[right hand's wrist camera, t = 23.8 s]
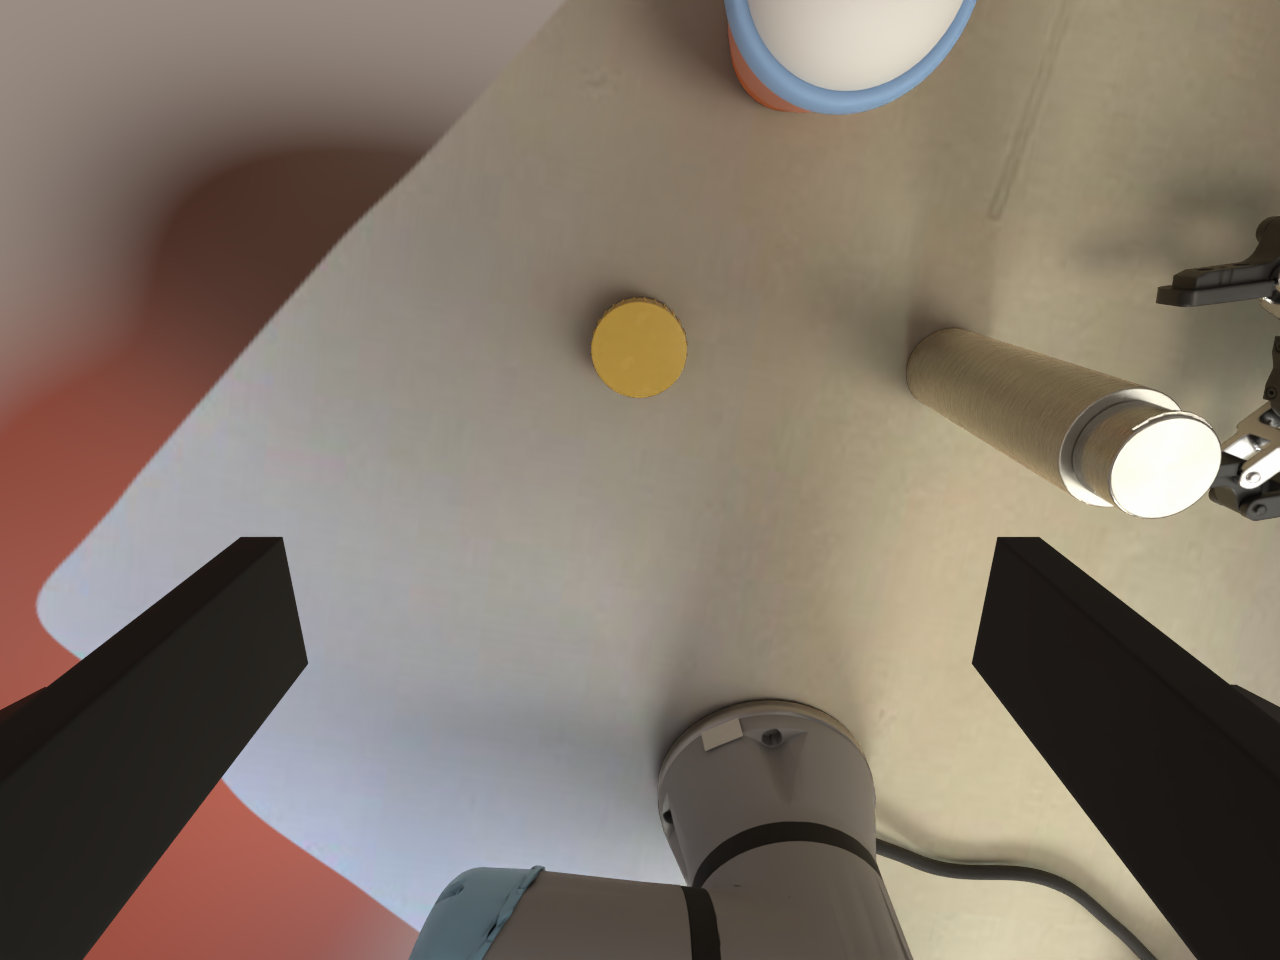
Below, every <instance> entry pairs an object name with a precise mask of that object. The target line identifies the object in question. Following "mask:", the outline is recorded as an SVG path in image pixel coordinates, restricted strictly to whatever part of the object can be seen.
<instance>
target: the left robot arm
mask: <svg viewBox="0 0 1280 960" xmlns="http://www.w3.org/2000/svg"><path fill="white" fill-rule="evenodd" d="M1256 238H1257V240H1258V242H1259V244H1258V246H1257V248H1256V250H1255V252H1254V253H1253V254H1252V255H1251V256H1250V257H1249V258H1248V259H1246V260H1244V261H1242V262H1239V263H1232V264H1225V265H1217V266H1209V267H1202V268H1194V269H1186V270H1184V271H1182V272H1180V273H1178V274H1176V275H1174V277H1173V284H1172V285H1169V286H1162V287H1158V292H1157V300H1156V303H1159V304H1165V305H1172V306H1179V307H1194V306H1202V305H1210V304H1218V303H1225V302H1233V301H1241V300H1249V299H1257V298H1258V299H1259V300H1260V301H1262V302H1261V303H1260V305H1261V306H1262V307H1263V308H1264V309H1266V310H1267V311H1268V312H1270V313H1271V314H1273V315H1274V316H1275V317H1277V318H1278V319H1280V216H1274V217H1269V218H1267V219H1265V220H1264V221H1262V222H1261V224H1260V225H1259V226H1258V228H1257V231H1256ZM1272 355H1273V370H1272V372H1271V374H1270V376H1269V378H1268V380H1267V383H1266V386H1265V391H1264V396H1263V399H1266V400H1269V401H1268V402H1267V403H1265V404H1264V405H1263V406H1261V407H1260V408H1259V409H1257V410H1256V411H1254V412H1253V413H1252V414H1250V415H1249V416H1248V417H1246V418H1245V419H1244V420H1242V421H1241V422H1240V423H1239V424H1238V425H1237V430H1238V431H1237V433H1236V434H1235V435H1233V436H1232V437H1231V438H1229V439H1228V440H1226V441H1225V442H1224V443H1222V444H1221V449H1222V459H1221V465H1220V469H1219V472H1218V474H1217V477H1216V479H1215V480H1214V482H1213V484H1212V485H1211V487H1210V488H1211V489H1210V491H1209V498H1210V500H1212V501H1213V502H1215V503H1217V504H1220V505H1223V506H1225V507H1228V508H1230V509H1232V510H1234V511H1236V512H1238V513H1240V514H1241V515H1242V516H1244V517H1246V518H1248V519H1250V520H1253V521H1258V520H1264V519H1270V518H1276V517H1280V429H1279V428H1278V427H1279V426H1280V336H1275V341H1274V346H1273V351H1272ZM1259 450H1262V451H1260V452H1259V453H1257V454H1256V455H1255V456H1253V457H1252V458H1250V459H1249V460H1248V461H1247V460H1245V459H1246V458H1247V457H1249V456H1250V455H1251V454H1253V453H1254V452H1256V451H1259Z"/></svg>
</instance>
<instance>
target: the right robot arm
mask: <svg viewBox="0 0 1280 960" xmlns="http://www.w3.org/2000/svg"><path fill="white" fill-rule="evenodd" d="M307 664H308V660H307V656H306V651H305V646H304V641H303V636H302V631H301V626H300V621H299V616H298V611H297V606H296V601H295V596H294V591H293V586H292V581H291V577H290V572H289V567H288V562H287V557H286V552H285V547H284V542H283V537H240V538H239V539H238V540H236V541H235V542H234V543H232V544H231V545H230V546H229V547H227V548H226V549H225V550H223V551H222V552H221V553H220V554H218V555H217V556H216V557H214V558H213V559H212V560H211V561H209V562H208V563H207V564H205V565H204V566H203V567H202V568H200V569H199V570H198V571H196V572H195V573H194V574H192V575H191V576H190V577H189V578H187V579H186V580H185V581H183V582H182V583H181V584H180V585H178V586H177V587H176V588H174V589H173V590H172V591H171V592H169V593H168V594H167V595H165V596H164V597H163V598H161V599H160V600H159V601H158V602H156V603H155V604H154V605H152V606H151V607H150V608H149V609H147V610H146V611H145V612H143V613H142V614H141V615H140V616H138V617H137V618H136V619H134V620H133V621H132V622H131V623H129V624H128V625H127V626H125V627H124V628H123V629H121V630H120V631H119V632H118V633H116V634H115V635H114V636H112V637H111V638H110V639H109V640H107V641H106V642H105V643H103V644H102V645H101V646H100V647H98V648H97V649H96V650H94V651H93V652H92V653H90V654H89V655H88V656H87V657H85V658H84V659H83V660H81V661H80V662H79V663H78V664H76V665H75V666H74V667H72V668H71V669H70V670H69V671H67V672H66V673H65V674H63V675H62V676H61V677H60V678H58V679H57V680H56V681H54V682H53V683H52V684H50V685H49V686H48V687H44V688H42V689H40V690H38V691H36V692H34V693H32V694H31V695H29V696H27V697H25V698H23V699H21V700H19V701H17V702H15V703H13V704H11V705H9V706H7V707H5V708H4V709H2V710H0V960H83V959H84V957H85V956H86V955H87V953H88V952H89V951H90V949H91V948H92V947H93V946H94V944H95V943H96V942H97V940H98V939H99V938H100V936H101V935H102V934H103V932H104V931H105V930H106V928H107V927H108V926H109V924H110V923H111V922H112V921H113V919H114V918H115V917H116V915H117V914H118V913H119V911H120V910H121V909H122V907H123V906H124V905H125V903H126V902H127V901H128V899H129V898H130V897H131V896H132V894H133V893H134V892H135V890H136V889H137V888H138V886H139V885H140V884H141V882H142V881H143V880H144V879H145V877H146V876H147V874H148V873H149V872H150V871H151V869H152V868H153V867H154V865H155V864H156V863H157V861H158V860H159V859H160V858H161V856H162V855H163V854H164V852H165V851H166V850H167V848H168V847H169V846H170V844H171V843H172V842H173V840H174V839H175V838H176V836H177V835H178V834H179V833H180V831H181V830H182V829H183V827H184V826H185V825H186V823H187V822H188V821H189V819H190V818H191V817H192V815H193V814H194V813H195V812H196V810H197V809H198V808H199V806H200V805H201V804H202V802H203V801H204V800H205V798H206V797H207V796H208V794H209V793H210V792H211V791H212V789H213V788H214V787H215V785H216V784H217V783H218V781H219V780H220V779H221V777H222V776H223V775H224V773H225V772H226V771H227V770H228V768H229V767H230V766H231V764H232V763H233V762H234V760H235V759H236V758H237V756H238V755H239V754H240V752H241V751H242V750H243V749H244V747H245V746H246V745H247V743H248V742H249V741H250V739H251V738H252V737H253V735H254V734H255V733H256V731H257V730H258V729H259V728H260V726H261V725H262V724H263V722H264V721H265V720H266V718H267V717H268V716H269V714H270V713H271V712H272V710H273V709H274V708H275V707H276V705H277V704H278V703H279V701H280V700H281V699H282V697H283V696H284V695H285V693H286V692H287V691H288V689H289V688H290V687H291V686H292V684H293V683H294V682H295V680H296V679H297V678H298V676H299V675H300V674H301V672H302V671H303V670H304V668H305V667H306V666H307ZM972 665H973V666H974V667H975V668H976V670H977V671H978V672H979V674H980V675H981V676H982V678H983V679H984V680H985V682H986V683H987V684H988V686H989V687H990V688H991V689H992V691H993V692H994V693H995V695H996V696H997V697H998V699H999V700H1000V701H1001V703H1002V704H1003V705H1004V707H1005V708H1006V709H1007V710H1008V712H1009V713H1010V714H1011V716H1012V717H1013V718H1014V720H1015V721H1016V722H1017V724H1018V725H1019V726H1020V728H1021V729H1022V730H1023V731H1024V733H1025V734H1026V735H1027V737H1028V738H1029V739H1030V741H1031V742H1032V743H1033V745H1034V746H1035V747H1036V749H1037V750H1038V751H1039V752H1040V754H1041V755H1042V756H1043V758H1044V759H1045V760H1046V762H1047V763H1048V764H1049V766H1050V767H1051V768H1052V770H1053V771H1054V772H1055V773H1056V775H1057V776H1058V777H1059V779H1060V780H1061V781H1062V783H1063V784H1064V785H1065V787H1066V788H1067V789H1068V791H1069V792H1070V793H1071V795H1072V796H1073V797H1074V798H1075V800H1076V801H1077V802H1078V804H1079V805H1080V806H1081V808H1082V809H1083V810H1084V812H1085V813H1086V814H1087V816H1088V817H1089V818H1090V819H1091V821H1092V822H1093V823H1094V825H1095V826H1096V827H1097V829H1098V830H1099V831H1100V833H1101V834H1102V835H1103V837H1104V838H1105V839H1106V840H1107V842H1108V843H1109V844H1110V846H1111V847H1112V848H1113V850H1114V851H1115V852H1116V854H1117V855H1118V856H1119V858H1120V859H1121V860H1122V861H1123V863H1124V864H1125V865H1126V867H1127V868H1128V869H1129V871H1130V872H1131V873H1132V875H1133V876H1134V877H1135V879H1136V880H1137V881H1138V882H1139V884H1140V885H1141V886H1142V888H1143V889H1144V890H1145V892H1146V893H1147V894H1148V896H1149V897H1150V898H1151V900H1152V901H1153V902H1154V903H1155V905H1156V906H1157V907H1158V909H1159V910H1160V911H1161V913H1162V914H1163V915H1164V917H1165V918H1166V919H1167V921H1168V922H1169V923H1170V925H1171V926H1172V927H1173V928H1174V930H1175V931H1176V932H1177V934H1178V935H1179V936H1180V938H1181V939H1182V940H1183V942H1184V943H1185V944H1186V946H1187V947H1188V948H1189V949H1190V951H1191V952H1192V953H1193V955H1194V956H1195V957H1196V959H1197V960H1280V707H1279V706H1277V705H1275V704H1273V703H1271V702H1269V701H1267V700H1265V699H1263V698H1261V697H1259V696H1257V695H1255V694H1253V693H1251V692H1249V691H1248V690H1246V689H1244V688H1242V687H1240V686H1238V685H1230V684H1228V683H1227V682H1226V681H1224V680H1223V679H1222V678H1221V677H1219V676H1218V675H1217V674H1215V673H1214V672H1213V671H1211V670H1210V669H1209V668H1208V667H1206V666H1205V665H1204V664H1202V663H1201V662H1200V661H1199V660H1197V659H1196V658H1195V657H1193V656H1192V655H1191V654H1190V653H1188V652H1187V651H1186V650H1184V649H1183V648H1182V647H1180V646H1179V645H1178V644H1177V643H1175V642H1174V641H1173V640H1171V639H1170V638H1169V637H1168V636H1166V635H1165V634H1164V633H1162V632H1161V631H1160V630H1159V629H1157V628H1156V627H1155V626H1153V625H1152V624H1151V623H1149V622H1148V621H1147V620H1146V619H1144V618H1143V617H1142V616H1140V615H1139V614H1138V613H1137V612H1135V611H1134V610H1133V609H1131V608H1130V607H1129V606H1128V605H1126V604H1125V603H1124V602H1122V601H1121V600H1120V599H1119V598H1117V597H1116V596H1115V595H1113V594H1112V593H1111V592H1109V591H1108V590H1107V589H1106V588H1104V587H1103V586H1102V585H1100V584H1099V583H1098V582H1097V581H1095V580H1094V579H1093V578H1091V577H1090V576H1089V575H1088V574H1086V573H1085V572H1084V571H1082V570H1081V569H1080V568H1078V567H1077V566H1076V565H1075V564H1073V563H1072V562H1071V561H1069V560H1068V559H1067V558H1066V557H1064V556H1063V555H1062V554H1060V553H1059V552H1058V551H1057V550H1055V549H1054V548H1053V547H1051V546H1050V545H1049V544H1048V543H1046V542H1045V541H1044V540H1042V539H1041V538H1040V537H997V542H996V547H995V552H994V557H993V562H992V567H991V572H990V577H989V581H988V586H987V591H986V596H985V601H984V606H983V611H982V616H981V621H980V626H979V631H978V636H977V641H976V646H975V651H974V656H973V660H972ZM875 803H876V797H875V789H874V784H873V778H872V774H871V771H870V768H869V766H868V763H867V761H866V758H865V756H864V754H863V752H862V750H861V748H860V746H859V744H858V742H857V741H856V739H855V738H854V737H853V735H852V734H851V733H850V732H849V731H848V730H847V729H846V728H845V727H844V726H843V725H842V724H841V723H839V722H838V721H837V720H835V719H834V718H832V717H830V716H829V715H827V714H825V713H823V712H821V711H819V710H817V709H814V708H811V707H809V706H805V705H802V704H798V703H793V702H787V701H774V700H764V701H752V702H746V703H741V704H736V705H733V706H729V707H726V708H723V709H721V710H718V711H716V712H714V713H712V714H710V715H708V716H706V717H704V718H702V719H701V720H699V721H698V722H696V723H695V724H693V725H692V726H691V727H689V728H688V729H687V730H686V731H685V732H684V733H683V734H682V735H681V736H680V737H679V738H678V739H677V740H676V741H675V742H674V744H673V745H672V747H671V748H670V749H669V751H668V753H667V755H666V756H665V758H664V761H663V763H662V766H661V769H660V773H659V779H658V807H659V814H660V819H661V822H662V827H663V830H664V833H665V835H666V838H667V840H668V843H669V845H670V847H671V849H672V852H673V854H674V856H675V858H676V861H677V863H678V865H679V868H680V870H681V872H682V874H683V877H684V879H685V881H686V883H687V886H688V887H687V886H680V885H672V884H660V883H649V882H638V881H630V880H621V879H612V878H603V877H594V876H585V875H576V874H567V873H558V872H549V871H545V867H543V866H534V867H532V868H531V869H509V868H487V867H479V868H473V869H470V870H467V871H465V872H463V873H461V874H460V875H459V876H457V877H456V878H455V879H454V880H453V881H452V882H450V883H449V885H448V886H447V887H446V888H445V889H444V891H443V892H442V893H441V895H440V896H439V898H438V900H437V901H436V903H435V905H434V906H433V908H432V910H431V912H430V914H429V916H428V917H427V919H426V922H425V924H424V926H423V928H422V930H421V932H420V934H419V936H418V939H417V941H416V943H415V946H414V948H413V950H412V953H411V955H410V958H409V960H913V957H912V955H911V952H910V950H909V947H908V944H907V942H906V939H905V937H904V934H903V931H902V929H901V926H900V923H899V921H898V918H897V916H896V913H895V910H894V908H893V905H892V903H891V900H890V897H889V895H888V892H887V890H886V887H885V885H884V882H883V879H882V877H881V874H880V871H879V868H878V865H877V863H876V854H879V855H882V856H884V857H887V858H890V859H893V860H896V861H898V862H901V863H904V864H906V865H909V866H911V867H913V868H916V869H918V870H921V871H924V872H927V873H930V874H934V875H938V876H943V877H949V878H957V879H972V880H1016V881H1025V882H1032V883H1036V884H1040V885H1044V886H1047V887H1050V888H1052V889H1055V890H1057V891H1060V892H1062V893H1064V894H1066V895H1068V896H1069V897H1071V898H1073V899H1074V900H1075V901H1077V902H1078V903H1080V904H1081V905H1082V906H1083V907H1085V908H1086V909H1087V910H1088V911H1089V912H1090V913H1091V914H1092V915H1093V916H1095V917H1096V918H1097V919H1098V920H1099V921H1100V922H1101V923H1102V924H1103V925H1105V926H1106V927H1107V928H1108V929H1109V930H1111V931H1112V932H1113V933H1114V934H1115V935H1116V936H1118V937H1119V938H1120V939H1121V940H1122V941H1123V942H1124V943H1125V944H1126V945H1127V946H1128V947H1129V948H1130V949H1131V950H1132V951H1133V952H1134V953H1135V954H1136V955H1137V956H1138V957H1139V958H1140V959H1141V960H1157V959H1156V958H1155V957H1154V956H1153V955H1152V954H1151V952H1150V951H1149V950H1148V949H1147V948H1146V947H1145V946H1144V945H1143V944H1142V943H1141V942H1140V941H1139V940H1138V939H1137V938H1136V937H1135V936H1134V935H1133V934H1132V933H1131V932H1130V931H1129V930H1128V929H1127V928H1125V927H1124V926H1123V925H1122V924H1121V923H1120V922H1118V921H1117V920H1116V919H1115V918H1114V917H1113V916H1111V915H1110V914H1109V913H1108V912H1107V911H1106V910H1105V909H1104V908H1103V907H1102V906H1100V905H1099V904H1098V903H1097V902H1096V901H1095V900H1094V899H1093V898H1092V897H1090V896H1089V895H1088V894H1087V893H1086V892H1084V891H1083V890H1082V889H1080V888H1079V887H1077V886H1076V885H1074V884H1073V883H1071V882H1069V881H1067V880H1065V879H1063V878H1061V877H1059V876H1057V875H1054V874H1051V873H1048V872H1045V871H1042V870H1038V869H1033V868H1028V867H1020V866H1004V865H961V864H952V863H946V862H941V861H936V860H933V859H929V858H926V857H924V856H921V855H919V854H916V853H914V852H911V851H909V850H907V849H904V848H901V847H899V846H896V845H893V844H890V843H888V842H885V841H882V840H879V839H877V838H876V827H875Z"/></svg>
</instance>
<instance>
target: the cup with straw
mask: <svg viewBox="0 0 1280 960" xmlns="http://www.w3.org/2000/svg"><path fill="white" fill-rule="evenodd" d="M976 1H977V0H724V4H725V10H726V15H727V19H728V38H729V44H730V51H731V58H732V63H733V67H734V70H735V73H736V75H737V77H738V79H739V81H740V83H741V85H742V86H743V88H744V89H745V90H746V91H747V93H748V94H749V95H750V96H751V97H752V98H754V99H755V100H756V101H757V102H759V103H760V104H762V105H764V106H766V107H768V108H771V109H774V110H778V111H786V112H799V113H806V112H816V113H822V114H833V115H843V114H853V113H859V112H864V111H868V110H871V109H875V108H878V107H880V106H883V105H885V104H888V103H890V102H891V101H893V100H895V99H897V98H899V97H901V96H902V95H904V94H905V93H907V92H909V91H910V90H912V89H913V88H914V87H915V86H917V85H918V84H919V83H921V82H922V81H923V80H924V79H925V78H926V77H927V76H928V75H930V74H931V73H932V72H933V71H934V69H935V68H936V67H937V66H938V65H939V64H940V63H941V62H942V61H943V59H944V58H945V57H946V56H947V54H948V53H949V52H950V50H951V49H952V48H953V46H954V45H955V43H956V41H957V40H958V38H959V37H960V35H961V33H962V31H963V30H964V28H965V26H966V24H967V22H968V20H969V18H970V16H971V13H972V11H973V9H974V6H975V3H976Z"/></svg>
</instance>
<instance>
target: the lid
mask: <svg viewBox="0 0 1280 960" xmlns="http://www.w3.org/2000/svg"><path fill="white" fill-rule="evenodd" d="M597 324H598V326H597V328H595V329H594V331H593V334H594V336H593V339H592V341H591V345H592V346H591V356H592V360H593V365H594V367H595V369H596V372H597V373H598V375H599V377H600V378H601V379H602V381H603V382H604V383H605V384H606V385H607V386H608V387H610V388H611V389H612V390H614V391H616V392H617V393H620V394H622V395H625V396H628V397H634V398H643V397H650V396H654V395H656V394H659V393H661V392H663V391H664V390H666V389H667V388H669V387H670V386H671V385H672V384H673V383H674V382H675V381H676V380H677V378H678V377H679V376H680V374H681V372H682V370H683V367H684V366H685V361H686V356H687V345H688V343H687V341H686V339H685V335H686V333H685V331H684V329H683V328H682V327H681V322H680V320H679V319H677V318H676V316H675V314H674V312H673V310H672V311H671V310H670V309H668V308H667V307H666V305H665V304H661V303H659V302H657V301H656V299H654V300H652V299H648V298H646V297H644V298H635V297H633V298H630V299H626V300H625V299H623V300H622V301H621V302H619V303H617V304H615V303H614V304H613V306H612V307H611V308H610V309H609V310H608V311H607V310H606V311H605V313H604V315H603V317H602V318H601V319H600V318H599V320H598V323H597Z"/></svg>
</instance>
